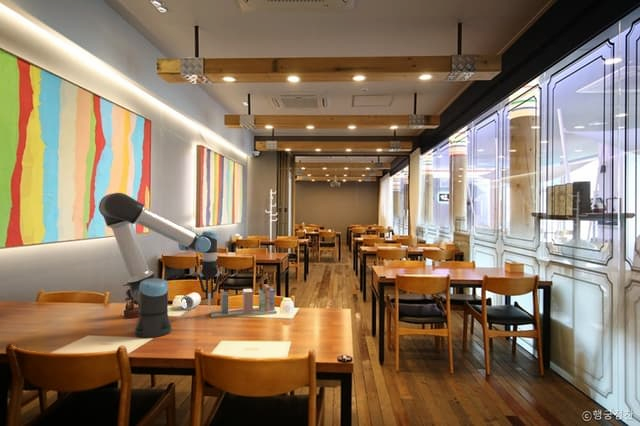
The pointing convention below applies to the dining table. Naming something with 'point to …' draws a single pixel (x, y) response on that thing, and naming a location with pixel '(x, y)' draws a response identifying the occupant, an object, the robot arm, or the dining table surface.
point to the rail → (264, 308)
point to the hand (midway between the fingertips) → (209, 305)
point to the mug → (192, 300)
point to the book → (247, 300)
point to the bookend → (224, 302)
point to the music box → (131, 306)
